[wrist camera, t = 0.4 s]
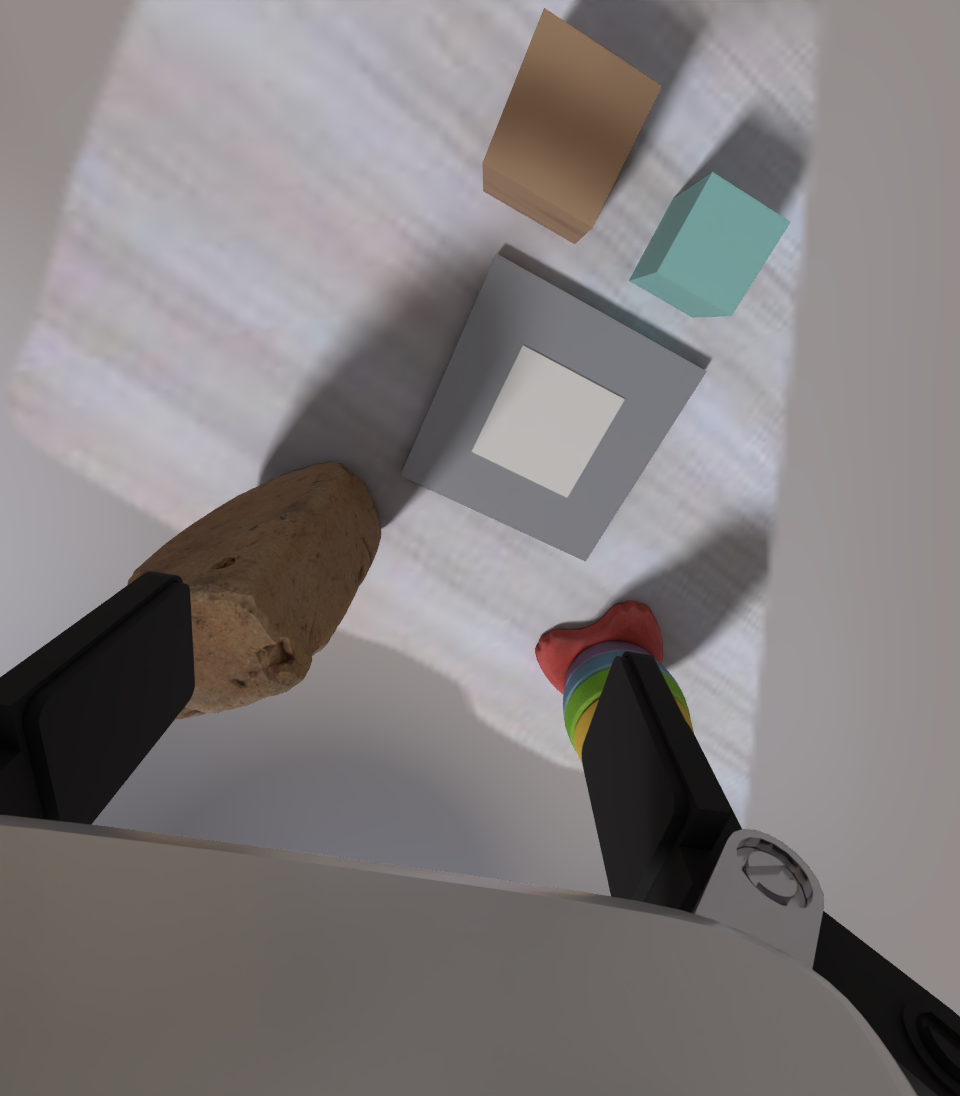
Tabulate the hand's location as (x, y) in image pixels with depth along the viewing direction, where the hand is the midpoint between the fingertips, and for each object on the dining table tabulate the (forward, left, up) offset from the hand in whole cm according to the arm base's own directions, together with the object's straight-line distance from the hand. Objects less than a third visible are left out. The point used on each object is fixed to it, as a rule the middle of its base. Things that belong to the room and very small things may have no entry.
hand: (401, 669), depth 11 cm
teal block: (-16, +8, -28) cm, 34 cm away
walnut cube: (-17, -2, -28) cm, 33 cm away
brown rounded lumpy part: (+11, -8, -28) cm, 32 cm away
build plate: (-3, +5, -28) cm, 29 cm away
